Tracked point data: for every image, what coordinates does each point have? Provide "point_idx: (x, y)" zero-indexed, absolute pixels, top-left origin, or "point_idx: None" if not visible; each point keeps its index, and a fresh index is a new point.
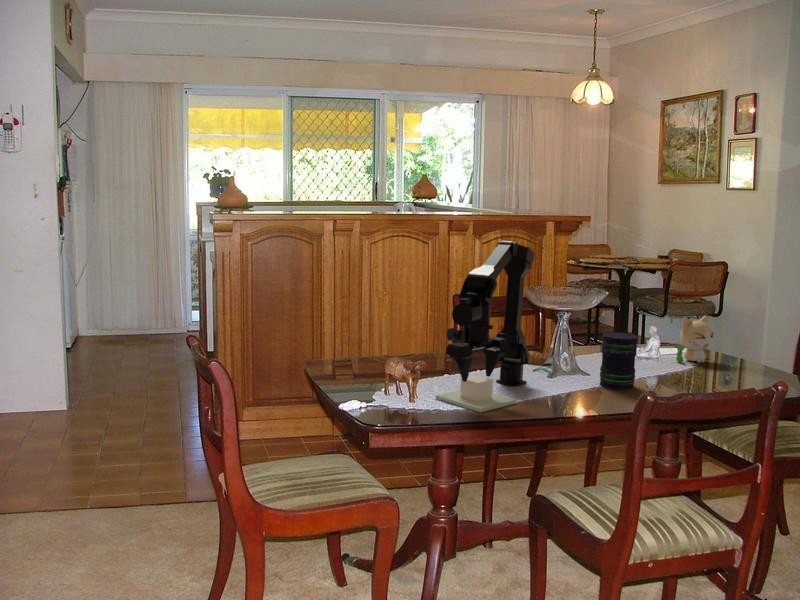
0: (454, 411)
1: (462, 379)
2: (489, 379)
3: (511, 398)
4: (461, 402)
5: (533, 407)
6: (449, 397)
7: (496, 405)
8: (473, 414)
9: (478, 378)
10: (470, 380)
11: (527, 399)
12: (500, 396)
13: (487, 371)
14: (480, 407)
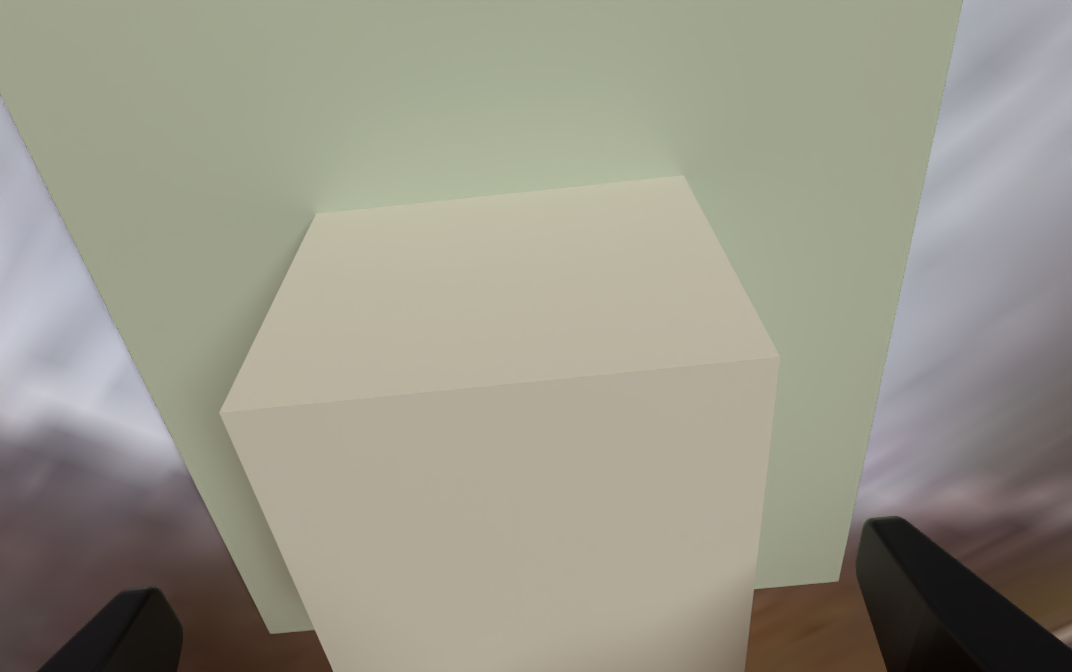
0: (19, 482)
1: (101, 621)
2: (706, 650)
3: (839, 540)
4: (178, 421)
5: (821, 662)
6: (120, 150)
7: None
8: (180, 606)
9: (588, 550)
10: (332, 585)
11: (1050, 508)
12: (820, 445)
13: (906, 630)
14: (292, 611)
